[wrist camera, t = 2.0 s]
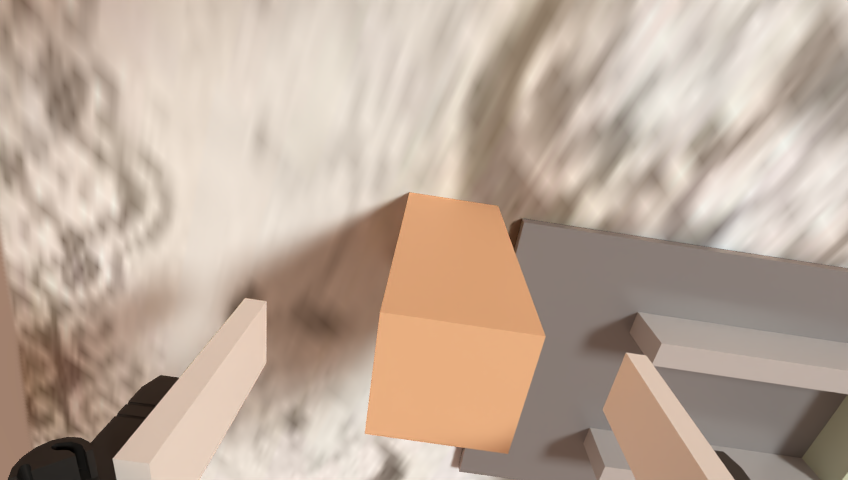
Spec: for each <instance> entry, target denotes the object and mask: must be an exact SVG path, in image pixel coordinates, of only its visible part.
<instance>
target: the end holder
mask: <svg viewBox="0 0 848 480" xmlns="http://www.w3.org/2000/svg"><path fill="white" fill-rule="evenodd" d="M514 251H515V254H516V257H517V259H518V262H519V265H520V268H521V270H522V273H523V276H524V279H525V281H526V284H527V287H528V289H529V292H530V295H531V298H532V300H533V303H534V306H535V309H536V311H537V314H538V317H539V320H540V322H541V325H542V328H543V330H544V333H545V336H546V337H545V340H544V343H543V347H542V350H541V353H540V356H539V359H538V362H537V365H536V368H535V371H534V375H533V378H532V381H531V384H530V387H529V390H528V393H527V396H526V400H525V403H524V406H523V409H522V412H521V415H520V418H519V421H518V425H517V428H516V431H515V434H514V437H513V440H512V443H511V446H510V450H509V453H508V454H505V453H498V452H490V451H483V450H476V449H469V448H463V451H462V455H461V458H460V462H459V472H467V473H474V474H481V475H488V476H495V477H502V478H509V479H516V480H636V479H635V477H634V475H633V473H632V471H631V469H630V467H629V464H628V462H627V460H626V458H625V456H624V454H623V452H622V450H621V448H620V445H619V443H618V441H617V439H616V437H615V435H614V433H613V431H612V429H611V426H610V424H609V422H608V420H607V418H606V416H605V414H604V412H603V407H604V405H605V403H606V400H607V398H608V395H609V393H610V390H611V388H612V385H613V383H614V380H615V378H616V376H617V373H618V371H619V368H620V366H621V363H622V361H623V358H624V356H625V354H626V353H632V354H639V355H646V356H647V357H648V359H649V360H650V361H651V363H652V364H653V366H654V367H655V368H656V370H657V371H658V373H659V374H660V375H661V377H662V378H663V380H664V381H665V382H666V384H667V385H668V387H669V388H670V389H671V391H672V392H673V394H674V395H675V396H676V398H677V399H678V401H679V402H680V404H681V405H682V406H683V408H684V409H685V411H686V412H687V413H688V415H689V416H690V418H691V419H692V420H693V422H694V423H695V425H696V426H697V427H698V429H699V430H700V432H701V433H702V434H703V436H704V437H705V439H706V440H707V441H708V443H709V444H710V446H711V447H712V449H713V450H716V451H723V452H725V453H726V454H727V455H728V456H729V457H730V458H731V459H732V460H734V461H735V462H736V463H737V464H738V465H739V466H740V467H741V468H742V469H743V470H744V472H745V473H746V474H747V476H748V477H749V478H750V480H848V268H842V267H835V266H829V265H822V264H816V263H809V262H803V261H796V260H790V259H783V258H777V257H770V256H764V255H757V254H751V253H744V252H737V251H731V250H724V249H718V248H711V247H705V246H698V245H692V244H685V243H679V242H672V241H666V240H659V239H653V238H646V237H640V236H633V235H627V234H620V233H614V232H607V231H601V230H594V229H587V228H581V227H574V226H568V225H561V224H555V223H548V222H542V221H535V220H529V219H522V222H521V226H520V230H519V233H518V237H517V241H516V245H515V249H514Z"/></svg>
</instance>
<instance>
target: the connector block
mask: <svg viewBox="0 0 848 480" xmlns="http://www.w3.org/2000/svg"><path fill="white" fill-rule="evenodd" d="M545 337H546V336H545V333H544V330H543V328H542V325H541V322H540V320H539V317H538V314H537V311H536V309H535V306H534V303H533V300H532V298H531V295H530V292H529V289H528V287H527V284H526V281H525V279H524V276H523V273H522V270H521V268H520V265H519V262H518V259H517V257H516V254H515V251H514V248H513V246H512V243H511V240H510V237H509V235H508V232H507V229H506V227H505V224H504V221H503V218H502V216H501V213H500V210H499V207H498V206H495V205H488V204H482V203H475V202H469V201H462V200H456V199H449V198H443V197H436V196H430V195H423V194H417V193H410V192H409V196H408V200H407V204H406V208H405V212H404V217H403V221H402V225H401V229H400V233H399V237H398V241H397V245H396V249H395V253H394V257H393V261H392V265H391V269H390V273H389V277H388V281H387V285H386V289H385V294H384V298H383V302H382V306H381V310H380V316H379V324H378V332H377V340H376V348H375V356H374V364H373V372H372V380H371V388H370V396H369V404H368V412H367V421H366V429H365V434H370V435H377V436H384V437H392V438H399V439H406V440H413V441H420V442H427V443H434V444H441V445H448V446H455V447H462V448H469V449H476V450H483V451H490V452H498V453H505V454H508V453H509V450H510V446H511V443H512V440H513V437H514V434H515V431H516V428H517V425H518V421H519V418H520V415H521V412H522V409H523V406H524V403H525V400H526V396H527V393H528V390H529V387H530V384H531V381H532V378H533V375H534V371H535V368H536V365H537V362H538V359H539V356H540V353H541V350H542V347H543V343H544V340H545Z"/></svg>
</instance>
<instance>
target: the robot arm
mask: <svg viewBox="0 0 848 480" xmlns="http://www.w3.org/2000/svg"><path fill="white" fill-rule="evenodd" d="M266 359H267V301H262V300H255V299H248V298H245V299H244V300H243V301H242V303H241V304H240V305H239V306H238V307H237V309H236V310H235V311H234V312H233V313H232V315H231V316H230V317H229V318H228V320H227V321H226V322H225V323H224V324H223V326H222V327H221V328H220V329H219V330H218V332H217V333H216V334H215V335H214V337H213V338H212V339H211V340H210V341H209V343H208V344H207V345H206V346H205V347H204V349H203V350H202V351H201V352H200V354H199V355H198V356H197V357H196V358H195V360H194V361H193V362H192V363H191V364H190V366H189V367H188V368H187V369H186V370H185V372H184V373H183V374H182V375H181V377H180V378H177V377H170V376H162V375H160V376H159V377H157V378H155V379H154V380H152V381H151V382H149V383H147V384H146V385H144V386H143V387H141V389H140V390H139V391H138V392H137V393H136V394H135V395H134V396H133V397H132V398H131V399H130V401H129V403H128V404H126V405H125V406H124V407H123V408H122V409H121V410H120V411H119V413H118V415H117V416H116V417H114V418H113V419H112V420H111V421H110V422H109V423H108V425H107V426H106V427H105V428H104V429H103V430H102V431H101V432H100V433H99V434H98V435H97V437H96V438H95V439H94V440H93V441H92V442H91V443H89V442H88V441H86V440H84V439H82V438H76V437H66V438H61V439H56V440H52V441H50V442H47V443H45V444H43V445H40V446H38V447H36V448H35V449H33V450H32V451H30V452H29V453H27V454H26V455H24V456H23V457H22V458H21V459H20V460H19V461H18V462H17V463H16V464H15V466H14V467H13V468H12V470H11V472H10V475H9V477H8V480H200V478H201V476H202V474H203V473H204V471H205V469H206V467H207V466H208V464H209V462H210V460H211V459H212V457H213V455H214V453H215V452H216V450H217V448H218V446H219V445H220V443H221V441H222V439H223V438H224V436H225V434H226V433H227V431H228V429H229V427H230V426H231V424H232V422H233V420H234V419H235V417H236V415H237V413H238V412H239V410H240V408H241V406H242V405H243V403H244V401H245V399H246V398H247V396H248V394H249V393H250V391H251V389H252V387H253V386H254V384H255V382H256V380H257V379H258V377H259V375H260V373H261V372H262V370H263V368H264V366H265V365H266ZM603 412H604V414H605V416H606V418H607V420H608V422H609V424H610V426H611V429H612V431H613V433H614V435H615V437H616V439H617V441H618V443H619V445H620V448H621V450H622V452H623V454H624V456H625V458H626V460H627V462H628V464H629V467H630V469H631V471H632V473H633V475H634V477H635V479H636V480H750V478H749V477H748V476H747V474H746V473H745V472H744V470H743V469H742V468H741V467H740V466H739V465H738V464H737V463H736V462H735V461H734V460H732V459H731V458H730V457H729V456H728V455H727V454H726V453H725V452H723V451H716V450H713V449H712V447H711V446H710V444H709V443H708V441H707V440H706V439H705V437H704V436H703V434H702V433H701V432H700V430H699V429H698V427H697V426H696V425H695V423H694V422H693V420H692V419H691V418H690V416H689V415H688V413H687V412H686V411H685V409H684V408H683V406H682V405H681V404H680V402H679V401H678V399H677V398H676V396H675V395H674V394H673V392H672V391H671V389H670V388H669V387H668V385H667V384H666V382H665V381H664V380H663V378H662V377H661V375H660V374H659V373H658V371H657V370H656V368H655V367H654V366H653V364H652V363H651V361H650V360H649V359H648V357H647V356H646V355H639V354H632V353H626V354H625V356H624V358H623V361H622V363H621V366H620V368H619V371H618V373H617V376H616V378H615V380H614V383H613V385H612V388H611V390H610V393H609V395H608V398H607V400H606V403H605V405H604V407H603Z"/></svg>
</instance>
